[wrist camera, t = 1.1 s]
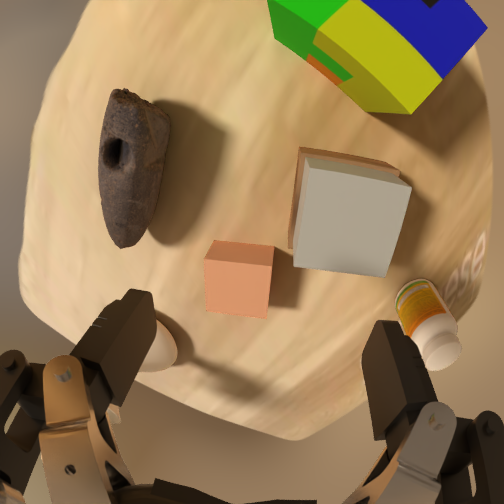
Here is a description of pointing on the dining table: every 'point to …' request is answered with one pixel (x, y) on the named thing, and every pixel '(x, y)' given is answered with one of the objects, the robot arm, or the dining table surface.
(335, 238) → the tower top
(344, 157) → the tower base
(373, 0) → the puzzle toy
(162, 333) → the flower in vase
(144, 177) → the perforated stone tool
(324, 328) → the dining table surface
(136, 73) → the dining table surface
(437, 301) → the supplement bottle
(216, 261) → the clay block
